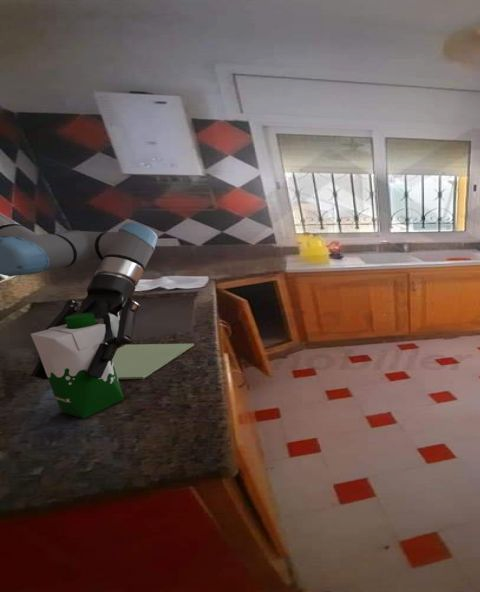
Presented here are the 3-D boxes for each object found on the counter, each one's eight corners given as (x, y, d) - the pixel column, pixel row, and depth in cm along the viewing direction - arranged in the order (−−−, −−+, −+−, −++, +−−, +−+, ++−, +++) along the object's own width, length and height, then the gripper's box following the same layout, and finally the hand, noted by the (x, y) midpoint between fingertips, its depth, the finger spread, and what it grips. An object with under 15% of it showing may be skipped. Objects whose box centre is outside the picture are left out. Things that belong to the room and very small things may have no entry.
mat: (57, 381, 77) (57, 378, 77) (126, 346, 97) (125, 344, 96) (143, 379, 79) (143, 376, 79) (194, 345, 98) (194, 343, 98)
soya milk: (131, 397, 71) (107, 314, 66) (79, 423, 63) (46, 330, 57) (105, 390, 74) (80, 310, 68) (52, 414, 65) (18, 324, 60)
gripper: (175, 289, 78) (138, 380, 67) (80, 289, 76) (26, 383, 65) (154, 272, 71) (109, 370, 60) (49, 272, 70) (-16, 373, 59)
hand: (66, 377), depth 63 cm, fingers closed on soya milk, 9 cm apart
